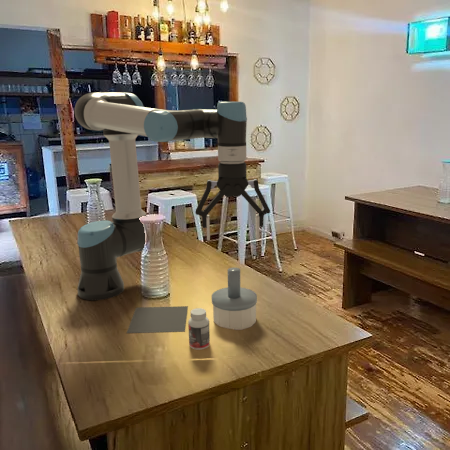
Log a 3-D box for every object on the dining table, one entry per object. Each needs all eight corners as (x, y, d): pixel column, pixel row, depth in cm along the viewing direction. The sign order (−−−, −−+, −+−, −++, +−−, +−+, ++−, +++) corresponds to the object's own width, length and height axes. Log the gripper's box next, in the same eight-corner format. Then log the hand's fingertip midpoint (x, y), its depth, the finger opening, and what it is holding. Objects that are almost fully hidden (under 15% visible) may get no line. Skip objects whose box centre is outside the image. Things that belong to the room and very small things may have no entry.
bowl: (213, 330, 125) (213, 310, 124) (213, 310, 137) (213, 292, 136) (257, 329, 126) (257, 309, 124) (253, 309, 138) (253, 291, 136)
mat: (126, 334, 124) (126, 333, 124) (136, 308, 140) (136, 307, 139) (184, 332, 124) (184, 331, 124) (188, 307, 140) (187, 306, 140)
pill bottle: (184, 346, 118) (183, 312, 115) (199, 338, 122) (197, 304, 119) (200, 353, 114) (198, 318, 112) (214, 344, 118) (213, 310, 116)
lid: (211, 311, 123) (210, 279, 121) (211, 292, 136) (210, 262, 134) (259, 310, 124) (259, 277, 121) (254, 291, 136) (254, 261, 134)
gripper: (184, 164, 116) (187, 243, 121) (281, 162, 116) (279, 241, 122) (185, 160, 123) (188, 235, 129) (277, 159, 124) (276, 233, 129)
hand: (232, 238), depth 125 cm, fingers open, 13 cm apart
